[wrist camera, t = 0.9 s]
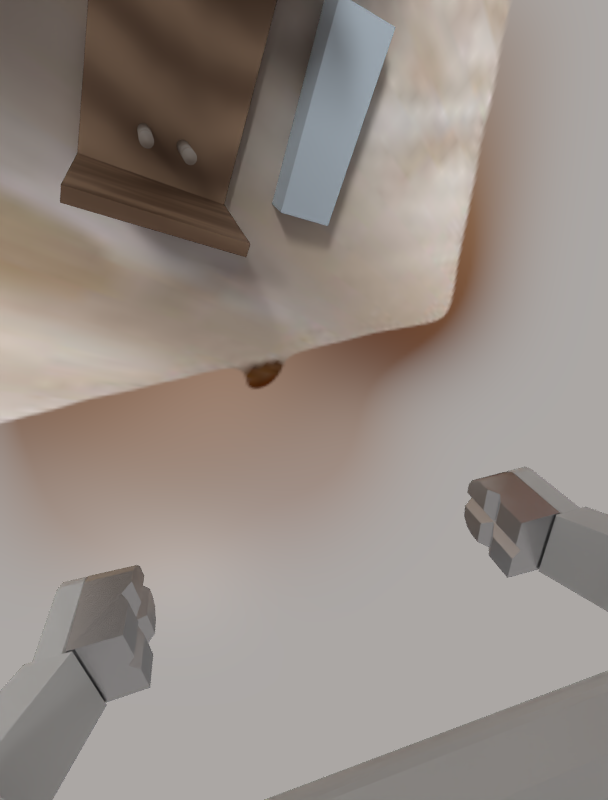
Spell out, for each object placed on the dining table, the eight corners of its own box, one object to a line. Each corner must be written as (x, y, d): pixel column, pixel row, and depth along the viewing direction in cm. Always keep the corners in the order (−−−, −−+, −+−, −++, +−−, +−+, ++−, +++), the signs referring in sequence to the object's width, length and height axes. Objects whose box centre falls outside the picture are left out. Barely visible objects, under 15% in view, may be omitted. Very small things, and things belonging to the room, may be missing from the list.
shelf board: (323, -2, 36) (340, -7, 33) (375, 29, 39) (395, 27, 36) (271, 203, 46) (280, 212, 43) (315, 216, 49) (327, 226, 46)
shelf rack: (106, -236, 25) (92, -426, 15) (295, -85, 32) (371, -149, 22) (77, 164, 38) (60, 202, 28) (219, 212, 44) (246, 257, 34)
